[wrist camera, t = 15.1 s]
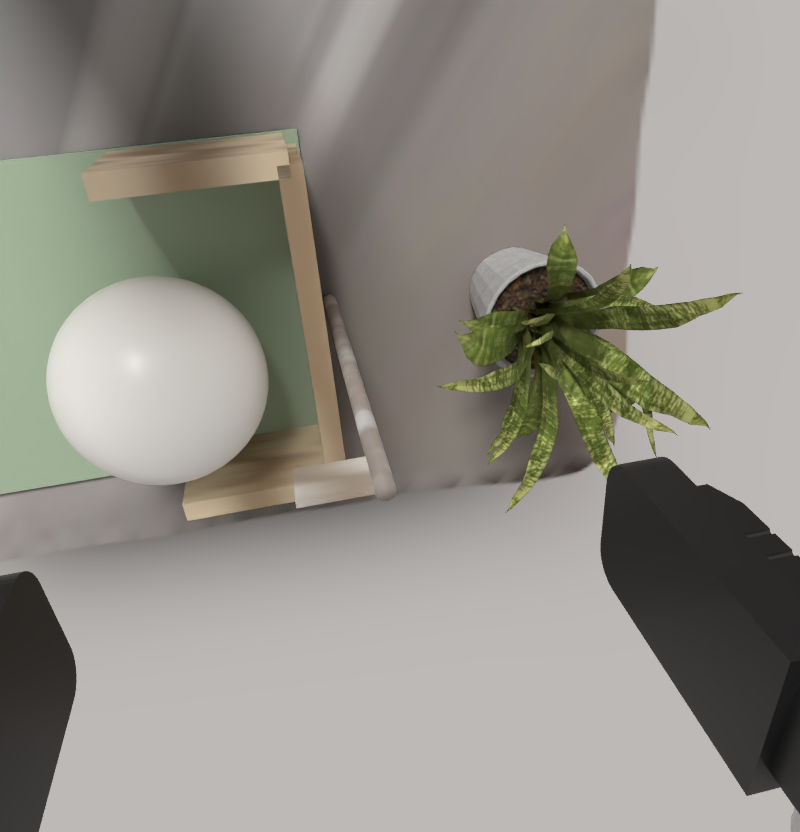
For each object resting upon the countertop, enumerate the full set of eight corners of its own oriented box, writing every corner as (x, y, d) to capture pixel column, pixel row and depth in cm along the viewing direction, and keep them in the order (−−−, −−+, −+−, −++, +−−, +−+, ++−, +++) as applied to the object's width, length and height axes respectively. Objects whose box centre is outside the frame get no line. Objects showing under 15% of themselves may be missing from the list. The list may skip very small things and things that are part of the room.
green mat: (-95, 507, 42) (-97, 510, 42) (-278, 190, 33) (-282, 191, 32) (340, 434, 46) (341, 437, 46) (296, 128, 36) (296, 129, 36)
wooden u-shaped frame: (195, 460, 44) (160, 725, 27) (108, 151, 35) (-32, 264, 18) (354, 433, 46) (415, 670, 29) (313, 129, 36) (369, 214, 19)
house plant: (379, 399, 45) (436, 561, 31) (379, 187, 38) (452, 274, 24) (576, 384, 48) (711, 528, 34) (609, 182, 41) (795, 258, 27)
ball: (182, 463, 28) (334, 334, 35) (-15, 292, 28) (176, 200, 35) (150, 558, 36) (278, 438, 43) (-2, 425, 36) (150, 329, 43)
